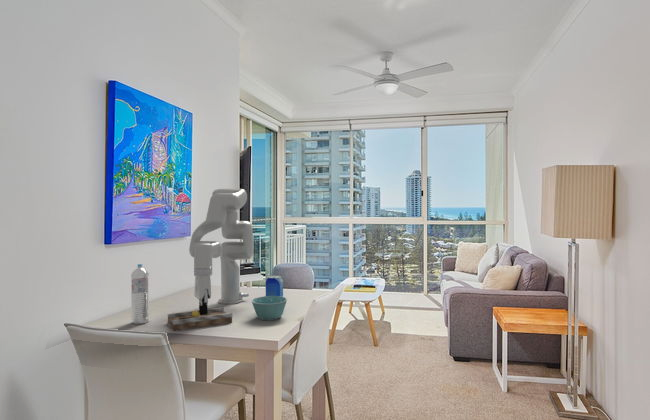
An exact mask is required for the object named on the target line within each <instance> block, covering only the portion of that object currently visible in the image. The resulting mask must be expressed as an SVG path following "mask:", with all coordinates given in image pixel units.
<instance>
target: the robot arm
mask: <svg viewBox="0 0 650 420" xmlns="http://www.w3.org/2000/svg"><path fill="white" fill-rule="evenodd" d="M211 194H212V195H211V196H210V199H209V203H208V209H207V212H206V216H205V217H206V218H205V220H204V221H202V222H201V223H200V224H199V225H198V226H197V227H196V229H194V230H193V232H192V234H191V239H190V242H189V248H188V249H189V250H188V251H189V255H190V256H191V257H192V258H193V276H194V297H195V298H196V299H198V304H199V305H198V310H199V313H200V315H207V314H208V309H209V308H208V304H209V299H211V296H212V281H211V280H212V279H211V276H212V275H213V259H217V258H219V257H220V258H219V259H220V285H221V286H220V298H219V299H218V300H217V301H218V304H222V305H234V304H235V305H236V304H239V303H240V304H241V303H242V302H243V301H244V300H243V298H244V297H245V298H248V297H249V295H250V294H249V293H248V292H241V291H240V287H241V284H240V280H241V279H240V272H241V271H240V270H241V269H240V266H239V263H238V262H236V261H243V260H244V261H246V260H251V259H252V258H253V255H254V236H253V235H254V234H253V232H254V231H253V226H252V224H251V222H250V221H248V220H239V218H238V217H239V215H238V211H239V210H240V209H242V208H243V207H244V206H245V205H246V203H247V201H248V194H247V191H246V190H245V189H244V188H218V189H217V188H216V189H214V190H213V191H212V193H211ZM219 229H221V236H222V238H223V239H225V240H228V241H224V242H222V243H221V242H220V241H216V240H214V241H213V240H205V241H203V240H202V238H203V237H204V236H205V235H207V234H209V233H211V232H214V231H216V230H219ZM229 240H235V241H229ZM237 240H242V241H237Z"/></svg>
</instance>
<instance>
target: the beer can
mask: <svg viewBox="0 0 650 420" xmlns="http://www.w3.org/2000/svg"><path fill="white" fill-rule="evenodd" d="M265 296H281V297H284V280H283V278H282V276H281V275H268V276H267V278H266V279H265Z"/></svg>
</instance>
